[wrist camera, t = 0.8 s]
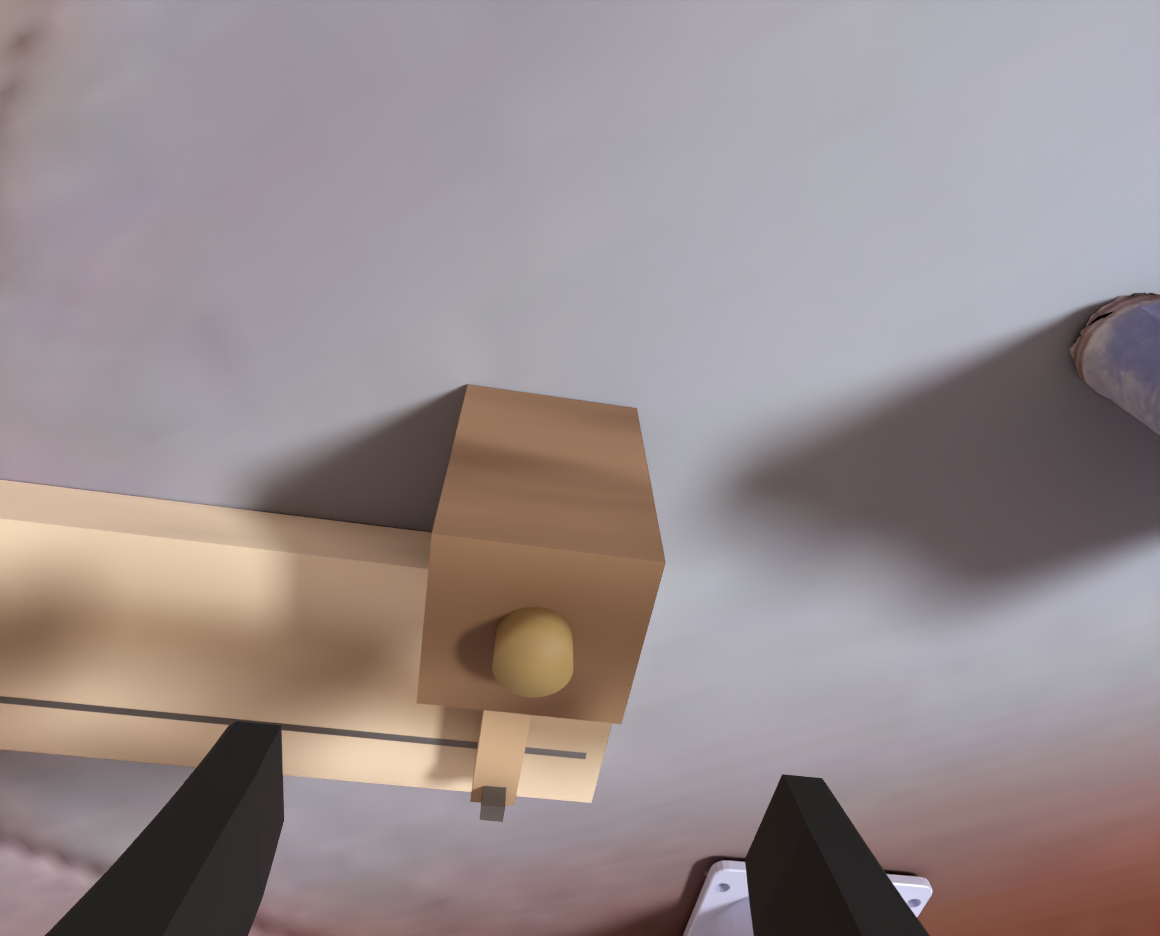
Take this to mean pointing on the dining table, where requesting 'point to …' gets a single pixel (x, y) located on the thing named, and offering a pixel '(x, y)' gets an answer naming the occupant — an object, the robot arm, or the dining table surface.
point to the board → (236, 644)
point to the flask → (1124, 356)
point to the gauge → (538, 573)
